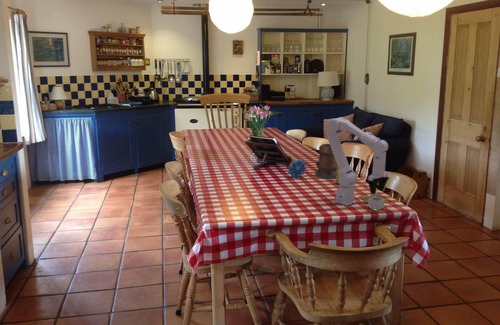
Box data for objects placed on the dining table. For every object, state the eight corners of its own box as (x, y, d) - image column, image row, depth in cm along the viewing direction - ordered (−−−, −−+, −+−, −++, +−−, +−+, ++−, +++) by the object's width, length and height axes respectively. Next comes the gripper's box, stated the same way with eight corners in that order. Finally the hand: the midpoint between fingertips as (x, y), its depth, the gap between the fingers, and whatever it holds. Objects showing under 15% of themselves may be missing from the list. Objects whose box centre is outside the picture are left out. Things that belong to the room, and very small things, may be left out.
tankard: (346, 178, 283) (347, 146, 278) (321, 180, 278) (322, 148, 274) (329, 169, 305) (330, 140, 300) (306, 171, 300) (307, 141, 296)
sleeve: (377, 211, 222) (378, 201, 221) (367, 208, 226) (368, 198, 225) (383, 208, 226) (384, 198, 225) (373, 205, 230) (374, 196, 229)
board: (388, 203, 234) (389, 196, 233) (365, 204, 233) (366, 196, 232) (380, 196, 245) (381, 189, 244) (358, 197, 244) (359, 189, 244)
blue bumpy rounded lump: (304, 175, 288) (305, 157, 285) (307, 178, 281) (307, 159, 279) (286, 176, 286) (286, 157, 284) (288, 179, 280) (289, 160, 277)
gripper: (378, 169, 213) (376, 196, 216) (394, 164, 223) (391, 191, 226) (365, 166, 218) (363, 193, 221) (381, 162, 228) (379, 188, 231)
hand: (377, 192), depth 224 cm, fingers open, 7 cm apart
